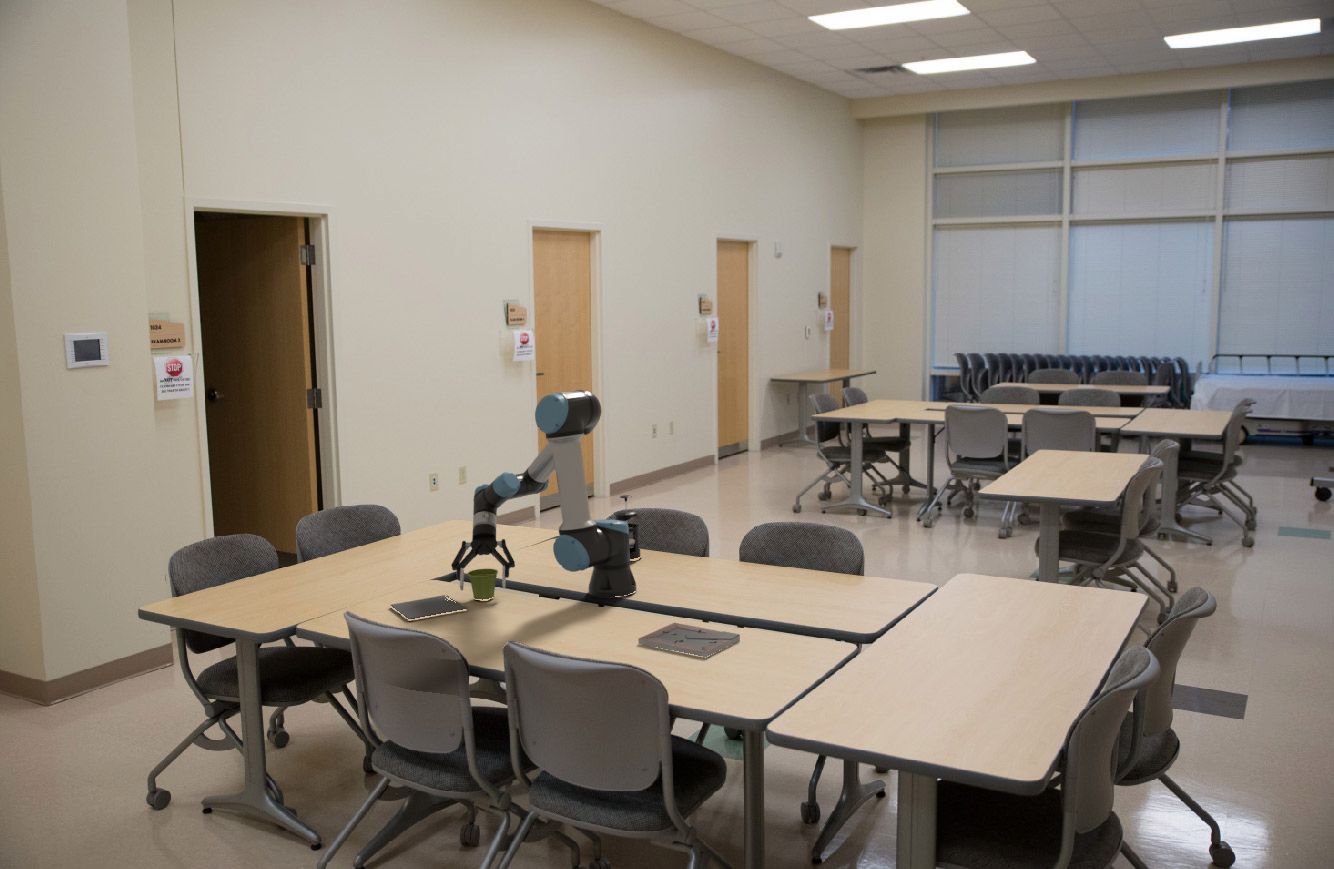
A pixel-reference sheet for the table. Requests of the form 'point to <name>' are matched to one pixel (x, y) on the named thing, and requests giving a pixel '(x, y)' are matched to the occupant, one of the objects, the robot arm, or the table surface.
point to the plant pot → (483, 582)
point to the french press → (626, 516)
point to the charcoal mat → (427, 607)
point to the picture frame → (689, 639)
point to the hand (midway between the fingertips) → (482, 587)
